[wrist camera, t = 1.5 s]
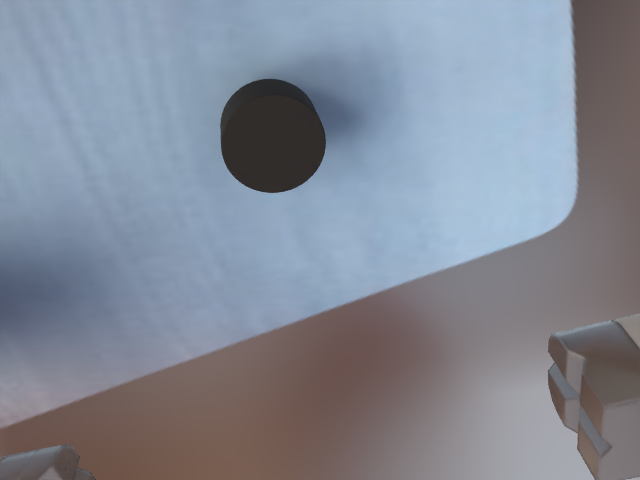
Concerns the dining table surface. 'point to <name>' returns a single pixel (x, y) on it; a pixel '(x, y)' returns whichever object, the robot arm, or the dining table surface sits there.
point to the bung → (271, 136)
